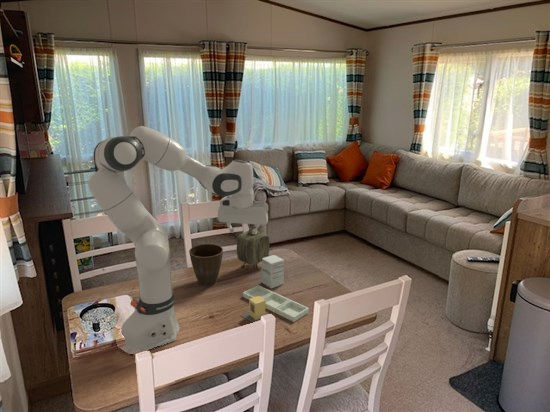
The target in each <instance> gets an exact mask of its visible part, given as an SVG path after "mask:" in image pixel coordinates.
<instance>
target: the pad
mask: <svg viewBox="0 0 550 412" xmlns="http://www.w3.org/2000/svg"><path fill="white" fill-rule="evenodd" d="M266 314H271V313H270V312H268V311H266V310H265V315H266ZM241 318H243V319H245V320H247V321H248V322H251V323H253V322H255V321H258V320H260V319H258V320H255V319H254V318H252V317H251V316H250V315H249V311H248V312H246V313H244V314H242V315H241Z"/></svg>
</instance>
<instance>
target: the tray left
mask: <svg viewBox="0 0 550 412" xmlns="http://www.w3.org/2000/svg"><path fill="white" fill-rule="evenodd" d="M273 292H274V291H272V290H270V289H268V288H265V287H264V286H262V285H259V284H257V285H255V286H253V287H251V288H249V289H247V290H244V291H243V292H242V298H244V299H246V300H249V299H251V298H254V297H256V296H260V297H261V298H264V297H266V296H268V295H270V294H272V293H273Z"/></svg>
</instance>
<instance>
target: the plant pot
mask: <svg viewBox="0 0 550 412" xmlns="http://www.w3.org/2000/svg"><path fill="white" fill-rule="evenodd" d="M223 254H224V248H223V247H222V246H221V245H217V244H213V243H203V244H197V245H195V246H192V247H191V248H190V249H189V257H190V262H191V266H192V268H193V272H194V275H195V277H196V279H197V281H198V283H199V285H201V286H203V287H210V286H213V285H215V284H216V281H217V279H218V276H219V274H220V269H221V265H222V261H223Z"/></svg>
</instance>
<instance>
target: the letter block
mask: <svg viewBox="0 0 550 412" xmlns="http://www.w3.org/2000/svg"><path fill="white" fill-rule="evenodd" d="M248 307H249V309H248V312H249V315H250V316H251V317H252V318H254V319H255V320H258V319H260V317H261V316H262V315H265V311H266V308H265V300H264V299H263V298H261V297H260V296H256V297H254V298H251V299H249V304H248Z"/></svg>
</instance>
